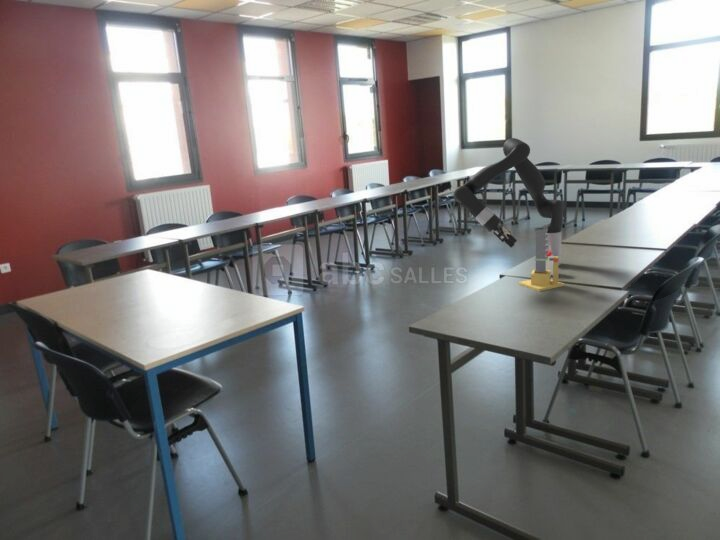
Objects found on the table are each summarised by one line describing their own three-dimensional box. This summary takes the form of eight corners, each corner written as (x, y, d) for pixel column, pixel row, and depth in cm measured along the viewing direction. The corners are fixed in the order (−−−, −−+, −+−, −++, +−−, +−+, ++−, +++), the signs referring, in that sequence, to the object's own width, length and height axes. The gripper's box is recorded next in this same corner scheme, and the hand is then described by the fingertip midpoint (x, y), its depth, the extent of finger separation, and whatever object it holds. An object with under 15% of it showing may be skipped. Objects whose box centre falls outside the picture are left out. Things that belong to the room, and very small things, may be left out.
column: (534, 272, 237) (534, 229, 232) (535, 269, 241) (535, 227, 236) (547, 272, 234) (547, 229, 230) (548, 269, 239) (548, 227, 234)
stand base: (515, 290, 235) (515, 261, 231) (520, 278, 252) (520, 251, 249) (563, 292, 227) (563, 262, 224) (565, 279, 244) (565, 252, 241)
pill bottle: (533, 273, 259) (533, 251, 256) (547, 271, 261) (547, 249, 258) (543, 276, 251) (543, 254, 249) (557, 274, 254) (557, 252, 251)
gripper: (491, 215, 233) (518, 241, 231) (496, 211, 246) (522, 235, 244) (479, 227, 236) (506, 253, 235) (484, 222, 249) (510, 246, 247)
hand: (514, 244), depth 239 cm, fingers open, 8 cm apart
